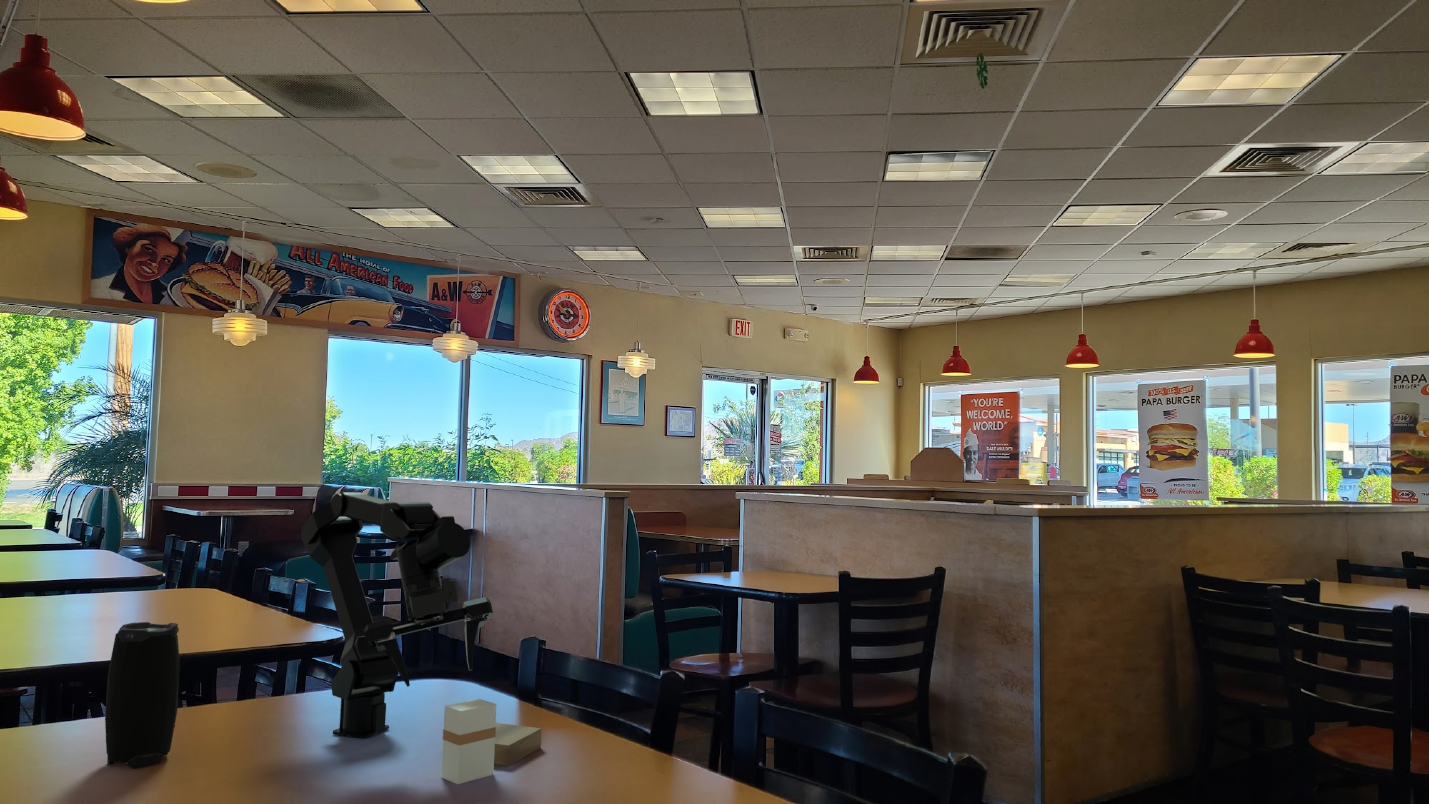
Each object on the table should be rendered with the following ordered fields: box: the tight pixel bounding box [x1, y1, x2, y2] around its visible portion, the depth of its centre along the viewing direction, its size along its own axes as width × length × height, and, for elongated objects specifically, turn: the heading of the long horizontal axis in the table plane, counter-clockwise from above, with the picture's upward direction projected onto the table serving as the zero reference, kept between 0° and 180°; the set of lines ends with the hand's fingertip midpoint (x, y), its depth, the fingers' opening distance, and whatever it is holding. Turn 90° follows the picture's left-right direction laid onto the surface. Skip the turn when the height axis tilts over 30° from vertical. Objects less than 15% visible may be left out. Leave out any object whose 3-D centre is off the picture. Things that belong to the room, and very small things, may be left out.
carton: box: [441, 698, 497, 785], centre depth 135 cm, size 4×6×10 cm
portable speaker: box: [104, 621, 181, 770], centre depth 138 cm, size 9×9×20 cm
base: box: [494, 722, 542, 767], centre depth 146 cm, size 10×10×3 cm
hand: (439, 678), depth 143 cm, fingers open, 9 cm apart
